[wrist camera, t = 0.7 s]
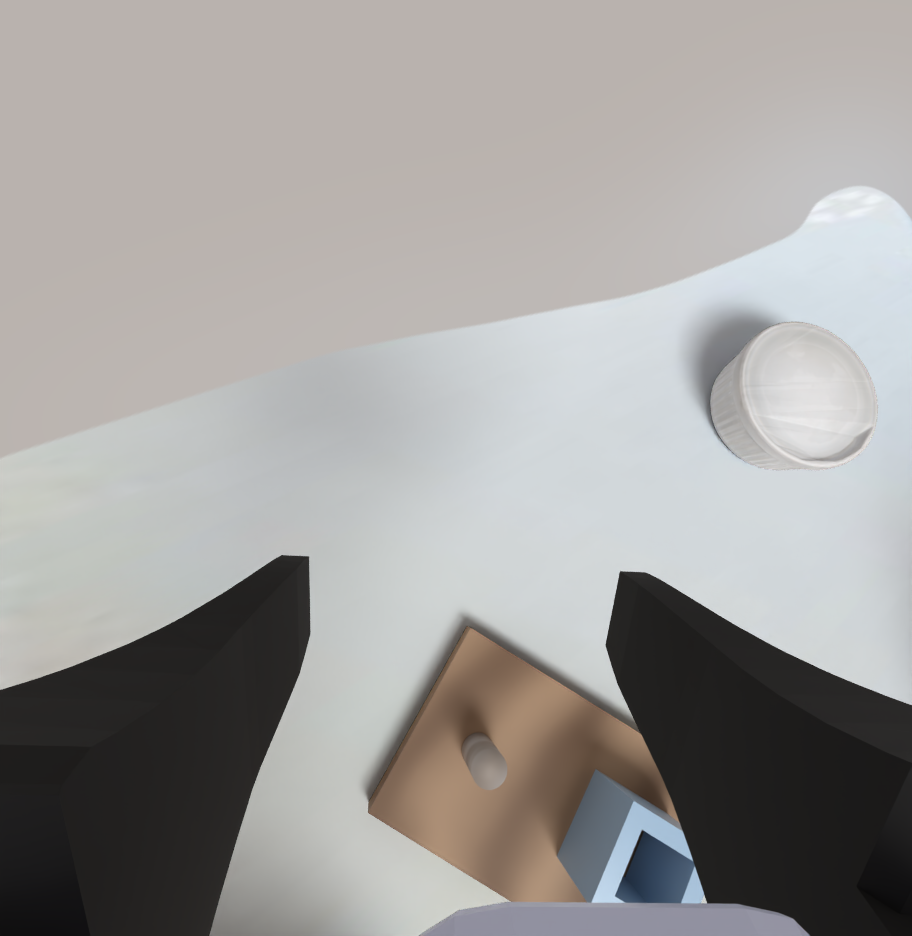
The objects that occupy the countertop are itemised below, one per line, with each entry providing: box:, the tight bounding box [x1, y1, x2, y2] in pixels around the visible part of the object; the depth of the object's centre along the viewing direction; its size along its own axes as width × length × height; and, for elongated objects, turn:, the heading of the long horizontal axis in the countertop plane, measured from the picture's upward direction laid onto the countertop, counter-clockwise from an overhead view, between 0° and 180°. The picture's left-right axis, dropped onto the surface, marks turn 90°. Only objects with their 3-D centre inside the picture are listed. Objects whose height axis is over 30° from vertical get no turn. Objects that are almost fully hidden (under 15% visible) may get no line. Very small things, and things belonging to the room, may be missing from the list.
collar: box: [557, 769, 704, 903], centre depth 29 cm, size 5×5×5 cm
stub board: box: [368, 626, 680, 902], centre depth 30 cm, size 18×12×5 cm, turn 59°
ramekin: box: [710, 322, 878, 470], centre depth 39 cm, size 11×11×5 cm
